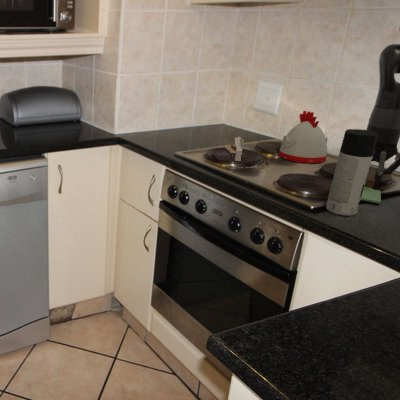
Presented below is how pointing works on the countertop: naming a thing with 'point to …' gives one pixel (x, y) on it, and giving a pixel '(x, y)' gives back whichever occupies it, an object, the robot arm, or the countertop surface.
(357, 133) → the spray can
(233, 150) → the architectural model
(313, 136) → the kitchen timer
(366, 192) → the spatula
